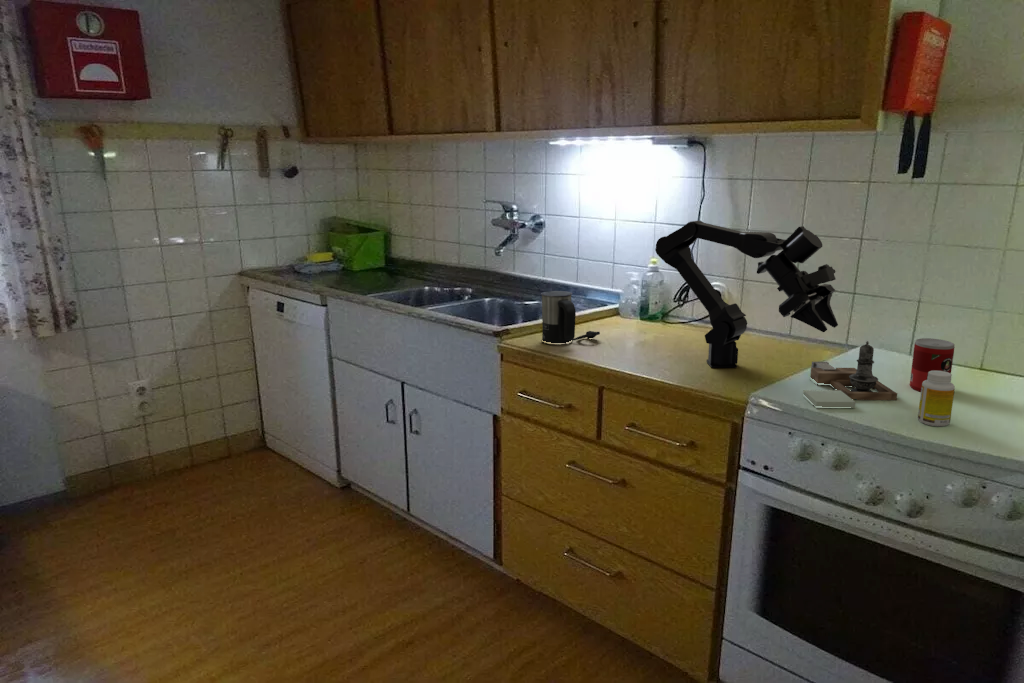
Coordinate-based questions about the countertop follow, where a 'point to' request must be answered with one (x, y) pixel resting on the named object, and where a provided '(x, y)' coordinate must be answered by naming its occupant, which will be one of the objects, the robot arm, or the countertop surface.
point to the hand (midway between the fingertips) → (831, 328)
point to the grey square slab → (829, 398)
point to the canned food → (930, 359)
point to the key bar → (823, 366)
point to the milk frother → (559, 318)
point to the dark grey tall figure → (864, 371)
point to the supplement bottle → (936, 399)
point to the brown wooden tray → (842, 379)
